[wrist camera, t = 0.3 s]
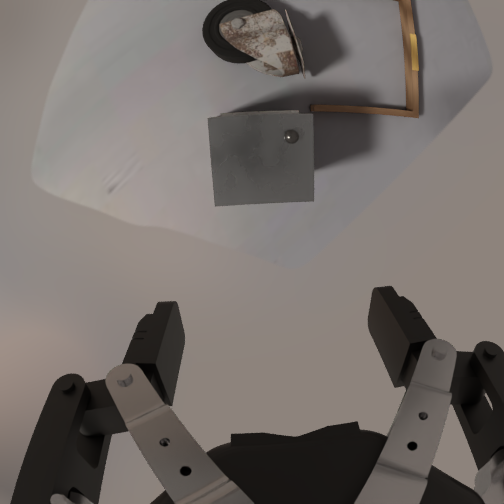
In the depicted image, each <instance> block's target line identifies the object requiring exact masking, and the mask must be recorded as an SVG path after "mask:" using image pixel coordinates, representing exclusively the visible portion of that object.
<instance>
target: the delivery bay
mask: <svg viewBox="0 0 504 504" xmlns="http://www.w3.org/2000/svg"><path fill="white" fill-rule="evenodd" d="M395 1H398V2H399V9H400V17H401V25H402V35H403V46H404V59H405V78H406V110H397V109H387V108H375V107H362V106H344V105H310V106H311V111H326V112H353V113H370V114H383V115H394V116H404V117H413V118H419V96H418V71H419V66H418V52H417V40H416V35H415V31H414V22H413V14H412V7H411V0H395Z"/></svg>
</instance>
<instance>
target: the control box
mask: <svg viewBox="0 0 504 504" xmlns="http://www.w3.org/2000/svg"><path fill="white" fill-rule="evenodd" d="M208 128H209V142H210V154H211V167H212V178H213V190H214V201H215V206H228V205H245V204H263V203H284V202H309V201H314V130H313V114H308V113H299V110H286V111H254V112H236V113H222V114H221V116H217V117H211V118H208Z"/></svg>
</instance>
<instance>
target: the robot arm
mask: <svg viewBox="0 0 504 504" xmlns="http://www.w3.org/2000/svg"><path fill="white" fill-rule="evenodd" d="M368 328H369V331H370V334H371V336H372V338H373V340H374V342H375V345H376V347H377V349H378V351H379V353H380V355H381V358H382V360H383V362H384V364H385V367H386V369H387V371H388V373H389V376H390V378H391V381H392V383H393V385H394V387H395V388H396V387H401V386H405V388H406V392H405V394H404V397H403V399H402V402H401V404H400V407H399V409H398V411H397V414H396V416H395V418H394V421H393V423H392V425H391V427H390V430H389V432H388V434H387V436H385V435H382V434H380V433H377V432H373V431H368V430H360V429H359V425H358V422H351V423H345V424H339V425H333V426H327V427H324V428H321V429H318V430H316V431H313V432H310V433H307V434H304V435H301V436H298V437H292V436H284V435H276V434H269V433H245V434H231V442H230V443H226V444H223V445H220V446H217V447H215V448H213V449H211V450H210V451H208V452H205V451H204V450H203V449H202V448H201V447H200V445H199V444H198V443H197V442H196V440H195V439H194V438H193V437H192V435H191V434H190V433H189V432H188V430H187V429H186V428H185V426H184V425H183V424H182V422H181V421H180V420H179V419H178V417H177V416H176V414H175V413H174V412H173V410H172V409H171V408H170V406H172V404H173V399H174V394H175V388H176V383H177V378H178V373H179V369H180V364H181V359H182V354H183V350H184V345H185V334H184V329H183V324H182V320H181V316H180V312H179V307H178V304H177V302H176V301H170V302H169V301H168V302H158V303H157V305H156V308H155V310H154V313H153V314H146V315H145V316H144V317H143V318H142V319H141V320H140V322H139V323H138V325H137V328H136V330H135V333H134V335H133V337H132V340H131V342H130V345H129V348H128V350H127V352H126V355H125V358H124V360H123V363H122V364H121V365H118V366H116V367H114V368H113V369H112V370H110V371H109V373H108V374H107V376H106V379H103V380H99V381H93V382H88V383H85V381H84V379H83V378H82V377H81V376H80V375H78V374H67V375H64V376H62V377H60V378H59V379H57V381H56V382H55V383H54V385H53V386H52V389H51V391H50V393H49V395H48V398H47V400H46V403H45V405H44V407H43V410H42V412H41V415H40V417H39V420H38V422H37V425H36V427H35V430H34V433H33V435H32V438H31V441H30V444H29V446H28V449H27V452H26V455H25V458H24V461H23V464H22V467H21V470H20V473H19V476H18V479H17V482H16V486H15V489H14V493H13V496H12V500H11V503H10V504H98V502H99V496H100V490H101V484H102V480H103V474H104V469H105V464H106V459H107V455H108V449H109V445H110V440H111V436H112V434H115V433H121V432H126V431H129V432H130V434H131V436H132V437H133V439H134V441H135V443H136V444H137V446H138V448H139V450H140V451H141V453H142V455H143V456H144V458H145V459H146V461H147V463H148V464H149V466H150V467H151V469H152V471H153V472H154V474H155V475H156V477H157V478H158V480H159V481H160V482H161V484H162V486H163V487H164V489H165V491H164V492H163V493H162V494H160V496H158V497H157V498H156V499H155V500H154V501H153V502H151V503H150V504H504V352H503V350H502V349H501V348H500V347H499V346H498V345H497V344H495V343H493V342H489V341H482V342H480V343H478V344H477V345H476V347H475V349H474V351H473V352H461V351H460V352H459V351H456V349H455V348H454V347H453V345H451V344H450V343H449V342H447V341H445V340H442V339H437V338H436V337H435V335H434V334H433V332H432V331H431V329H430V328H429V327H428V325H427V323H426V322H425V320H424V319H423V318H422V316H421V315H420V313H419V312H418V310H417V309H416V307H415V306H414V304H413V303H412V302H411V301H409V300H408V299H406V298H405V297H404V296H401V297H399V296H398V295H397V293H396V291H395V290H394V288H393V287H392V286H385V287H376V288H374V289H373V292H372V297H371V303H370V309H369V315H368ZM485 393H487V395H488V397H489V399H490V401H491V403H492V407H493V411H492V409H491V407H490V405H489V403H488V401H487V399H486V397H485ZM450 404H452V405H453V407H454V410H455V412H456V415H457V417H458V419H459V421H460V424H461V426H462V429H463V431H464V434H465V436H466V439H467V441H468V444H469V447H470V449H471V452H472V454H473V457H474V460H475V462H476V465H477V468H478V472H477V474H476V477H475V487H474V490H473V489H471V488H469V487H468V486H466V485H464V484H462V483H461V482H459V481H457V480H455V479H454V478H452V477H450V476H449V475H447V474H445V473H444V472H442V471H441V470H439V469H437V468H436V467H434V466H433V465H432V463H433V460H434V457H435V454H436V451H437V448H438V445H439V442H440V438H441V435H442V432H443V428H444V425H445V421H446V418H447V414H448V410H449V406H450Z"/></svg>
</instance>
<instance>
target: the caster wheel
mask: <svg viewBox="0 0 504 504" xmlns="http://www.w3.org/2000/svg"><path fill="white" fill-rule="evenodd" d="M285 11H286V16H287V21H288V26H289V31H290V33H289V32H288V30H287V28H286V26H285V23H284V21H283V19H282V16H281V15H280V13H279V12H277V11H276V10H275V9H273V10H272V9H271V8H270V7H269V6H268V5H267V4H265V3H264V2H262V1H260V0H227V1H224V2H222V3H220V4H219V5H217V6H216V7H215V8H213V9H212V10H211V12H210V13H209V14H208V15H207V17H206V19H205V21H204V24H203V30H202V31H203V38H204V41H205V42H206V44H207V46H208V47H209V48H210V49H211V50H212V51H213V52H214V53H215V54H216V55H217V56H218V57H220V58H221V59H223V60H225V61H228V62H231V63H246V64H248V65H249V66H250V67H252V68H253V69H255V70H257V71H259V72H262V73H265V74H268V75H272V76H278V77H285V76H289V75H294V74H299V66H298V60H299V63H300V66H301V69H302V72H303V76H304V78H305V69H304V60H303V57H302V54H301V53H302V51H303V47H302V43H301V40H300V39H299V38H298V37H296V36H295V33H294V30H293V27H292V24H291V21H290V18H289V16H288V13H287V10H286V9H285ZM297 59H298V60H297Z"/></svg>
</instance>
